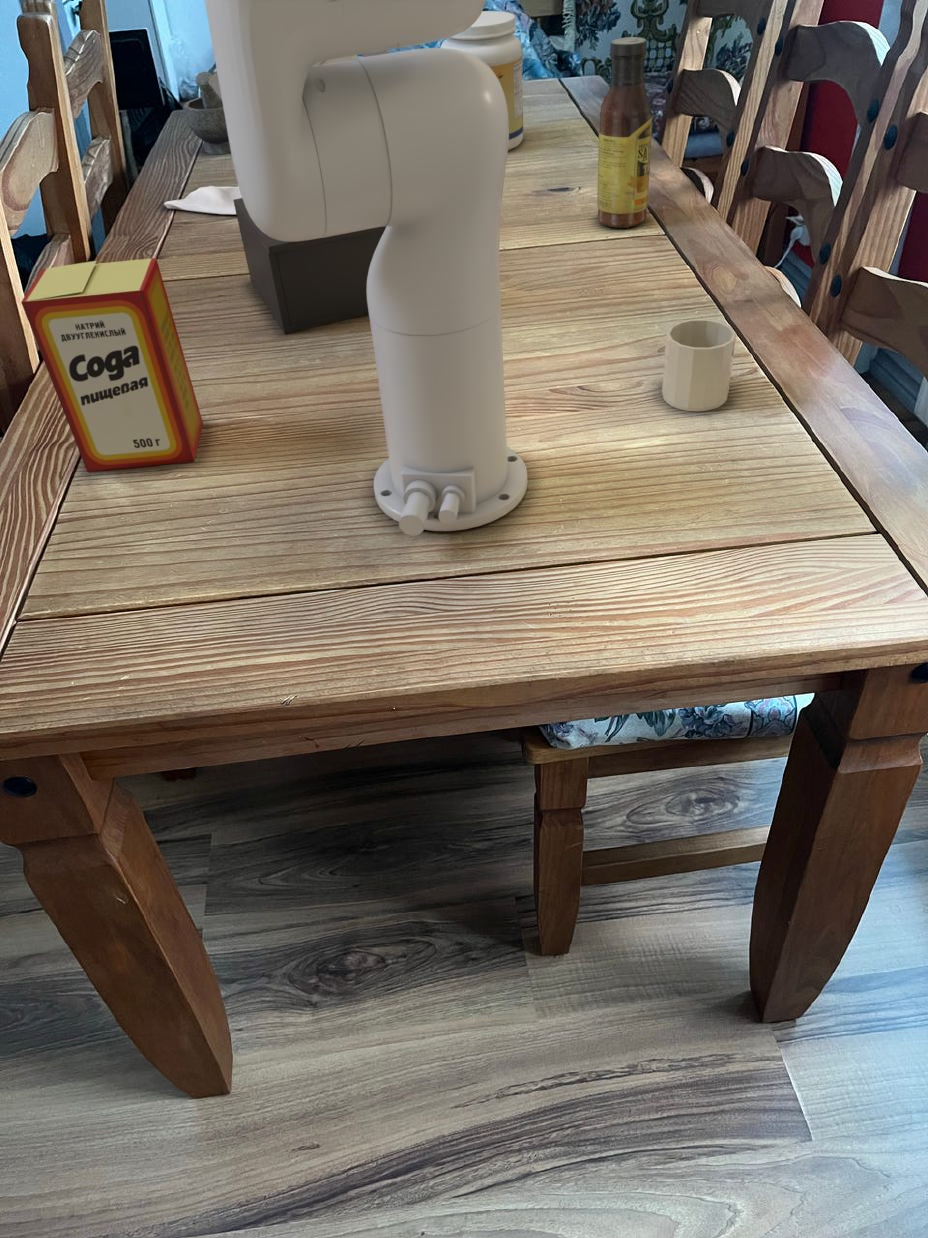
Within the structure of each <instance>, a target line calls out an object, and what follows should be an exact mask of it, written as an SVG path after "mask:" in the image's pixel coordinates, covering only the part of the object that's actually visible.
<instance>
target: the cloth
mask: <svg viewBox="0 0 928 1238" xmlns="http://www.w3.org/2000/svg"><path fill="white" fill-rule="evenodd" d="M239 198H242V196H241V193H240V190H239V186H238V185H237V186H214V185H209V186H201V187H198V188H197V189H196V190H194V191H191V192H190V193H188V195H187V196H186V197H184V198H182V199H174V200H167V201H165V202H164V203H162V204H163V206H164V207H165V208H166V209H172V210H181V211H187V212H193V213H195V212H196V213H203V214H205V213H206V214H214V215H215V214H218V215H234V216H235V215H236V210H235V206H234V201H233V200H234V199H239ZM236 216H237V215H236Z"/></svg>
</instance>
